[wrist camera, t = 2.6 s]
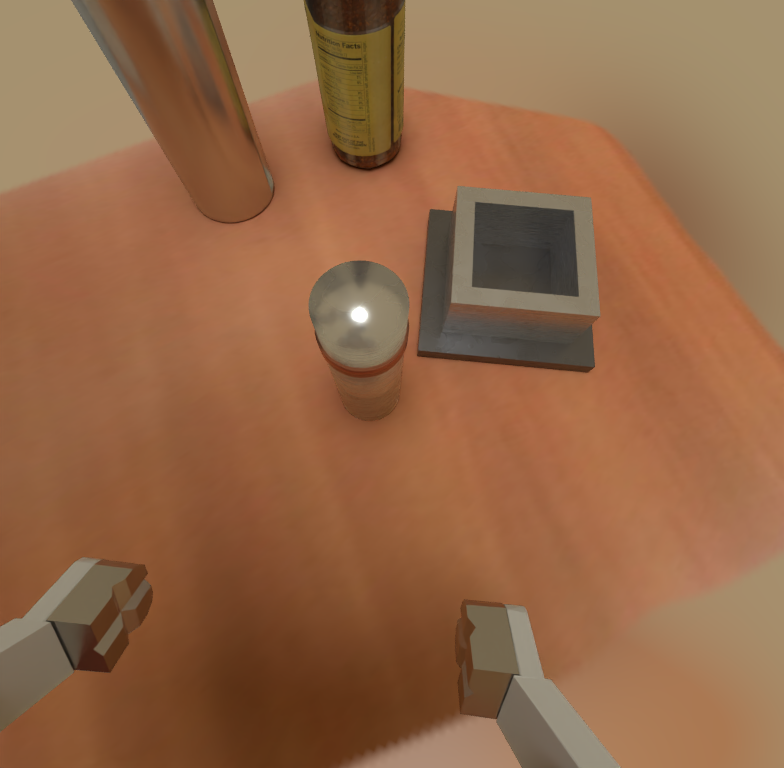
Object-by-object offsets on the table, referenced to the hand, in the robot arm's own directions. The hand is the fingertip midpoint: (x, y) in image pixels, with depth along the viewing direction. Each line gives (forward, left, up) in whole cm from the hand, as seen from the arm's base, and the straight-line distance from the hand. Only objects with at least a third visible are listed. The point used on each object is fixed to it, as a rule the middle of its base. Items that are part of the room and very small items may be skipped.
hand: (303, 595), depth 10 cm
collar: (+9, +19, -15) cm, 26 cm away
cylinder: (0, +10, -15) cm, 18 cm away
